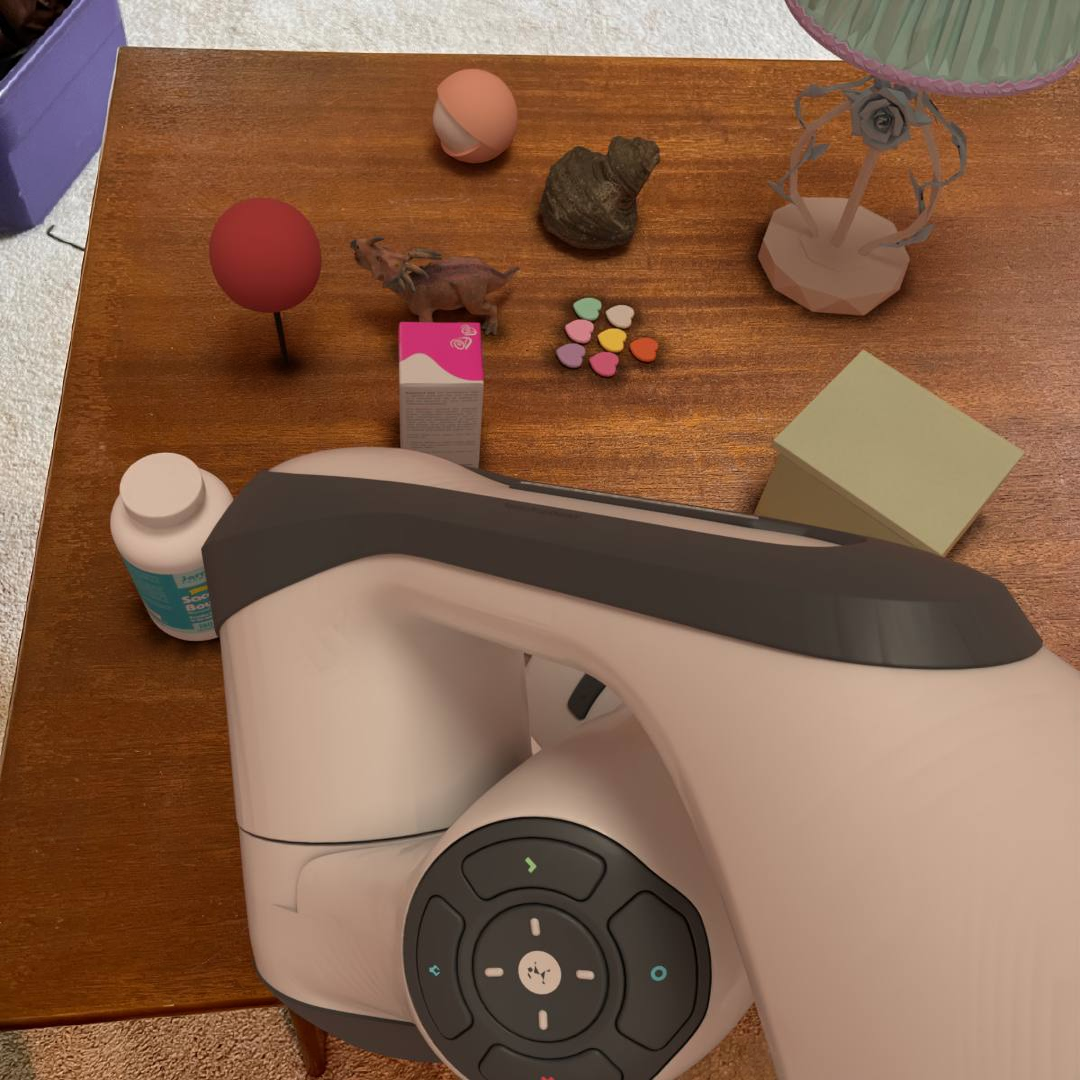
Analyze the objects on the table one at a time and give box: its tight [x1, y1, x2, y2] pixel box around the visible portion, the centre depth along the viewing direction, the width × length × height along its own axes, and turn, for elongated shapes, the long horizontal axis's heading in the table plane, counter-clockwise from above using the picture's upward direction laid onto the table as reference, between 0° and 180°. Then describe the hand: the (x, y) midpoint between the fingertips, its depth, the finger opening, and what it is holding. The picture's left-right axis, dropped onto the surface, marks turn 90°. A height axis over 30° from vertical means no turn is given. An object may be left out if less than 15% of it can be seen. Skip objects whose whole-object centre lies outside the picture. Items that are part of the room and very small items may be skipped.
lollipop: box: [208, 197, 322, 367], centre depth 79 cm, size 8×8×15 cm
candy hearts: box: [555, 297, 659, 377], centre depth 89 cm, size 8×8×1 cm
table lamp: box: [757, 0, 1080, 317], centre depth 79 cm, size 22×22×40 cm
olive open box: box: [753, 453, 1020, 558], centre depth 78 cm, size 13×12×8 cm
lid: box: [770, 349, 1026, 556], centre depth 75 cm, size 13×12×1 cm
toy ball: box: [431, 68, 519, 164], centre depth 97 cm, size 8×8×8 cm
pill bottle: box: [109, 452, 234, 642], centre depth 68 cm, size 8×7×14 cm
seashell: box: [539, 135, 661, 250], centre depth 92 cm, size 11×12×10 cm
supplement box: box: [398, 321, 485, 469], centre depth 77 cm, size 6×6×12 cm
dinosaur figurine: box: [349, 235, 521, 336], centre depth 85 cm, size 14×6×9 cm, turn 108°
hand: (801, 710), depth 51 cm, fingers open, 8 cm apart
